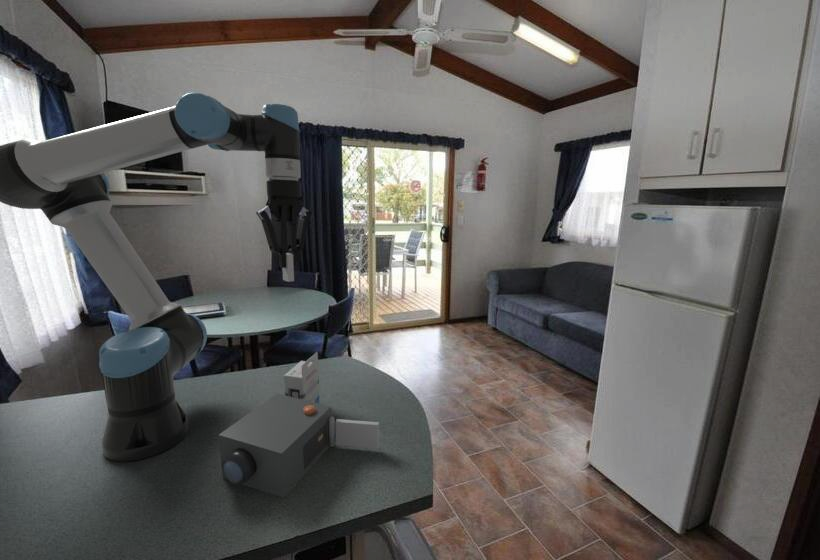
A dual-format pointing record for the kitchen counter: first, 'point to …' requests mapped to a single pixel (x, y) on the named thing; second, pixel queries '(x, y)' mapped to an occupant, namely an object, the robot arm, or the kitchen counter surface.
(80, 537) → the kitchen counter surface
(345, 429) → the side door
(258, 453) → the block
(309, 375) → the ink box
